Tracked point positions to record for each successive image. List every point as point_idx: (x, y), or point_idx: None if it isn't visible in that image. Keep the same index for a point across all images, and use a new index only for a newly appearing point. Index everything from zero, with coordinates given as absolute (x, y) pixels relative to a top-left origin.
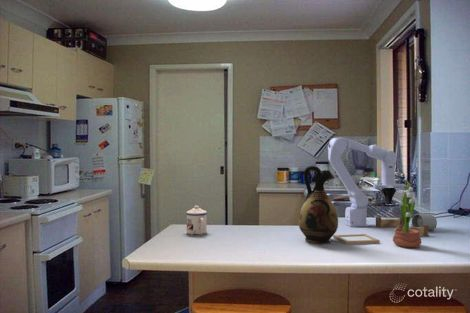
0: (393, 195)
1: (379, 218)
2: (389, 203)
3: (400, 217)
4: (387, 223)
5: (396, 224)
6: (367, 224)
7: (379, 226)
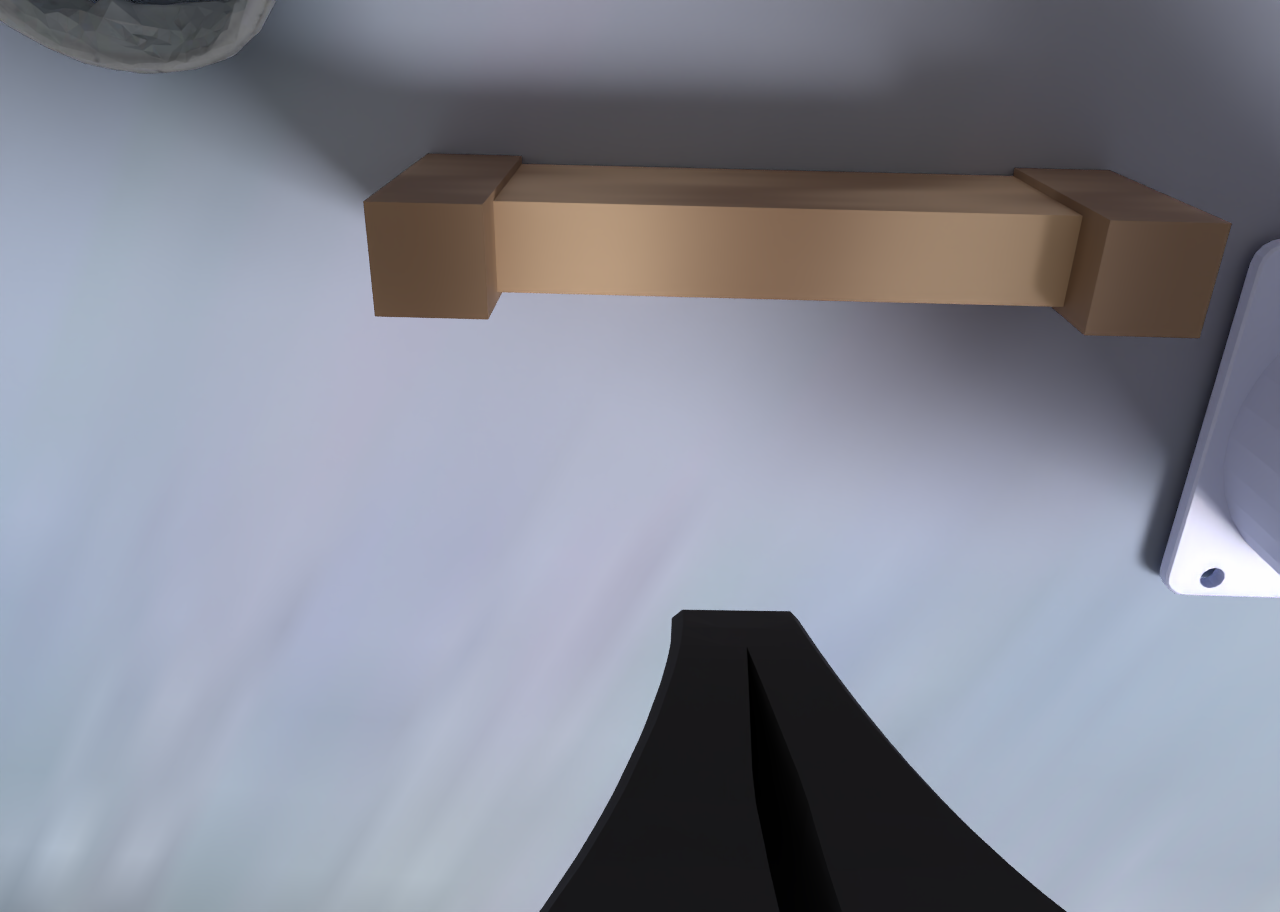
0: (584, 862)
1: (1152, 218)
2: (760, 616)
3: (476, 202)
4: (861, 187)
5: (608, 178)
6: (1238, 367)
7: (1063, 170)
